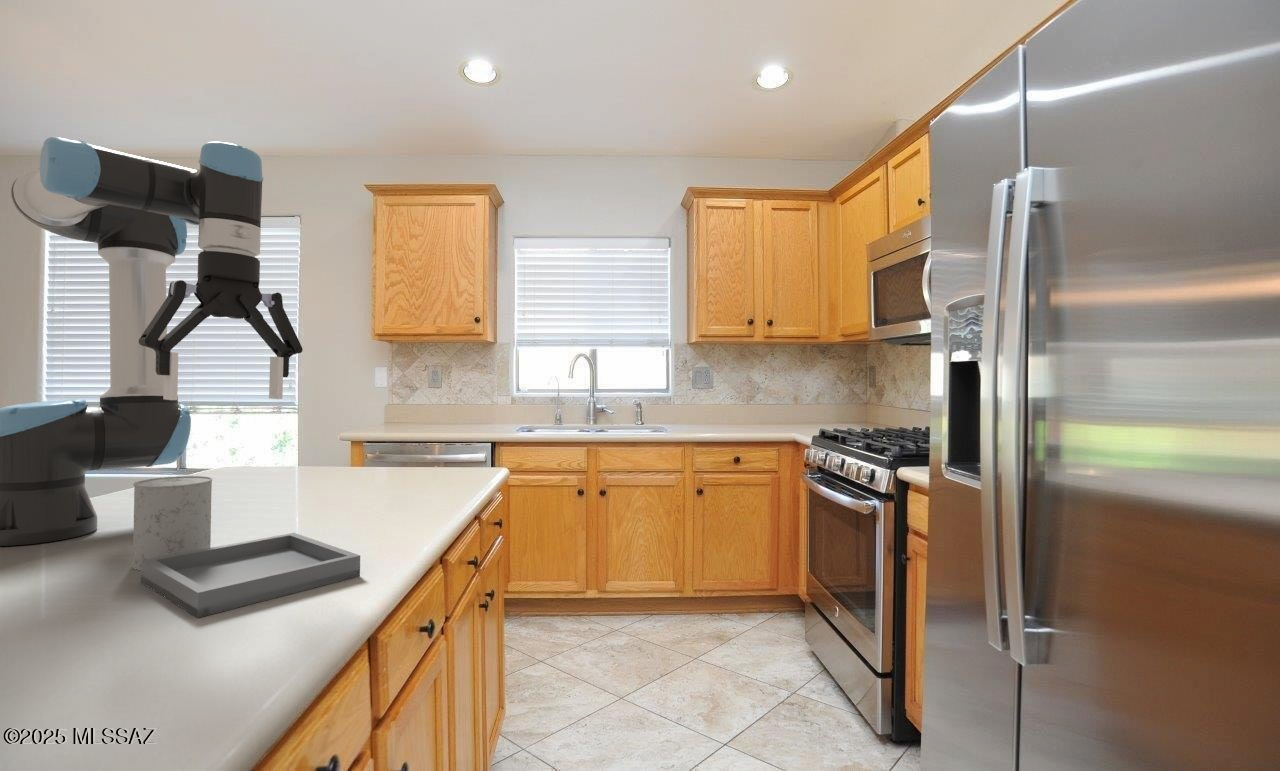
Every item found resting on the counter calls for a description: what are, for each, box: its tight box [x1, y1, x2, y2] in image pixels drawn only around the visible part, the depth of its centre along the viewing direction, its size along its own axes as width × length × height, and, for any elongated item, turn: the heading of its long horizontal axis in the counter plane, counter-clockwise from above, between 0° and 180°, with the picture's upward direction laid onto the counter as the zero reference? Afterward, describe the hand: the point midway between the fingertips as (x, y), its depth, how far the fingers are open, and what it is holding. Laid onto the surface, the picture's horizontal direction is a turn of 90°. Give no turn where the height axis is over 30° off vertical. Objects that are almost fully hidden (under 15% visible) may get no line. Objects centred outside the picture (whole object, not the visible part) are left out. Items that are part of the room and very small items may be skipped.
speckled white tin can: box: [131, 475, 213, 571], centre depth 93 cm, size 10×10×12 cm
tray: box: [140, 532, 361, 619], centre depth 85 cm, size 20×20×3 cm
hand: (226, 399), depth 89 cm, fingers open, 13 cm apart
